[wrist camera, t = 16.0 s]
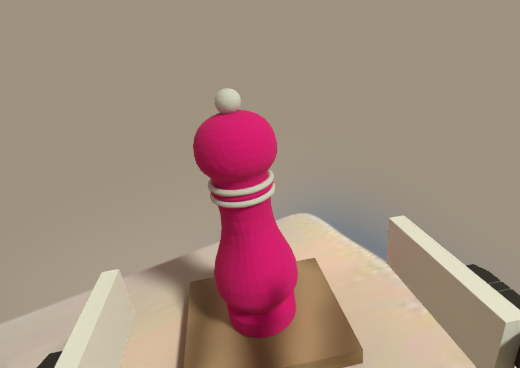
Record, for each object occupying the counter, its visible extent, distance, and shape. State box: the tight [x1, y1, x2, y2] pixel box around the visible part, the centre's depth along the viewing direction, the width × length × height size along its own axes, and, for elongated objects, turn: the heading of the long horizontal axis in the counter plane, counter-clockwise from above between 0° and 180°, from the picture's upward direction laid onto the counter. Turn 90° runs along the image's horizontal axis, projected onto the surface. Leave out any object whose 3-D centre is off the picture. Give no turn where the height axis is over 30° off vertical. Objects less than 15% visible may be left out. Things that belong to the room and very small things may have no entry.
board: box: [183, 258, 363, 368], centre depth 29 cm, size 14×12×2 cm
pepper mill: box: [193, 88, 298, 338], centre depth 25 cm, size 7×7×20 cm
